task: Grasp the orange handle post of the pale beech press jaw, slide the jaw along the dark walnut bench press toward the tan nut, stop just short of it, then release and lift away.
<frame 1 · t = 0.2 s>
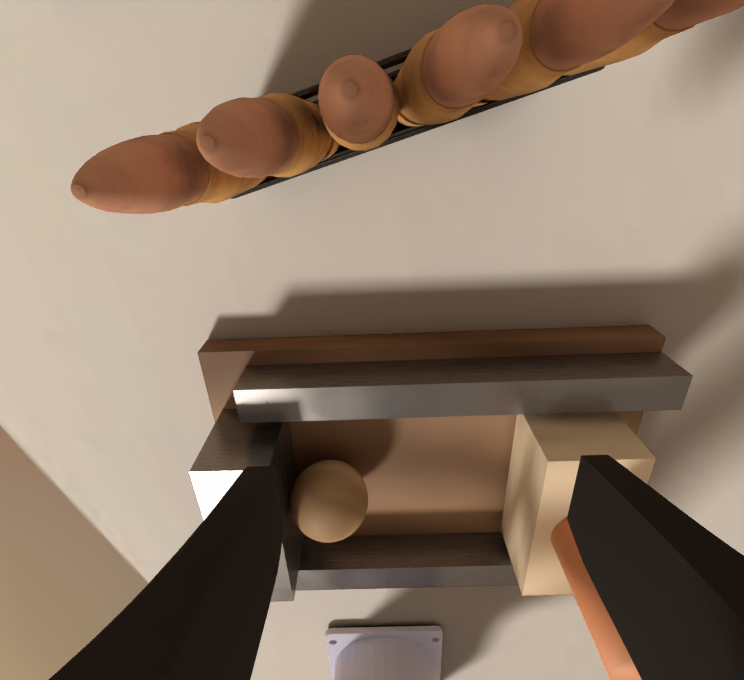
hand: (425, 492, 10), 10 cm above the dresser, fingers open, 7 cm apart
press jaw: (590, 549, 17), point 6 cm above the dresser, slide at 0.0 cm
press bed: (423, 452, 22), on the dresser
ammunition clip: (389, 108, 15), on the dresser
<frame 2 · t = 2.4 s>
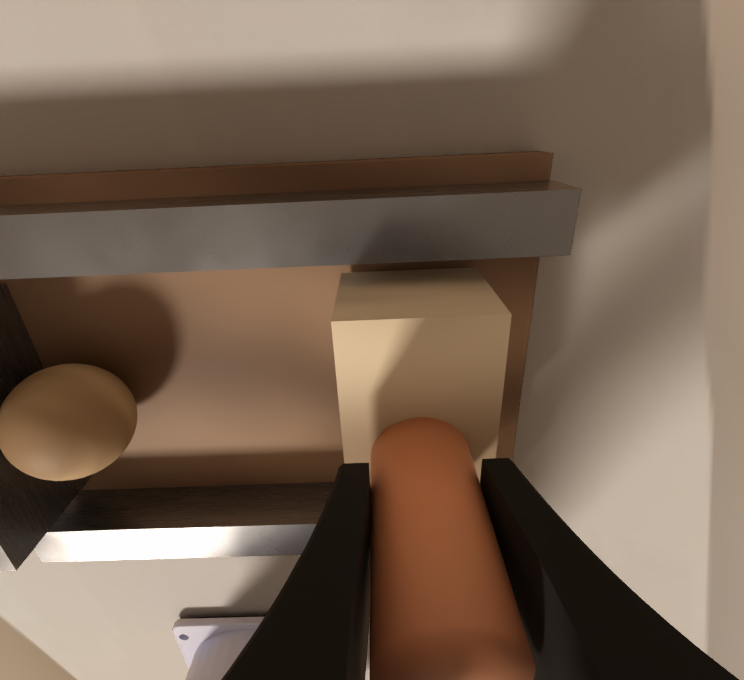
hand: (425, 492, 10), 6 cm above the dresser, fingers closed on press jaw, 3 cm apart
press jaw: (422, 476, 11), point 6 cm above the dresser, slide at 0.0 cm, touching gripper
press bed: (246, 367, 16), on the dresser
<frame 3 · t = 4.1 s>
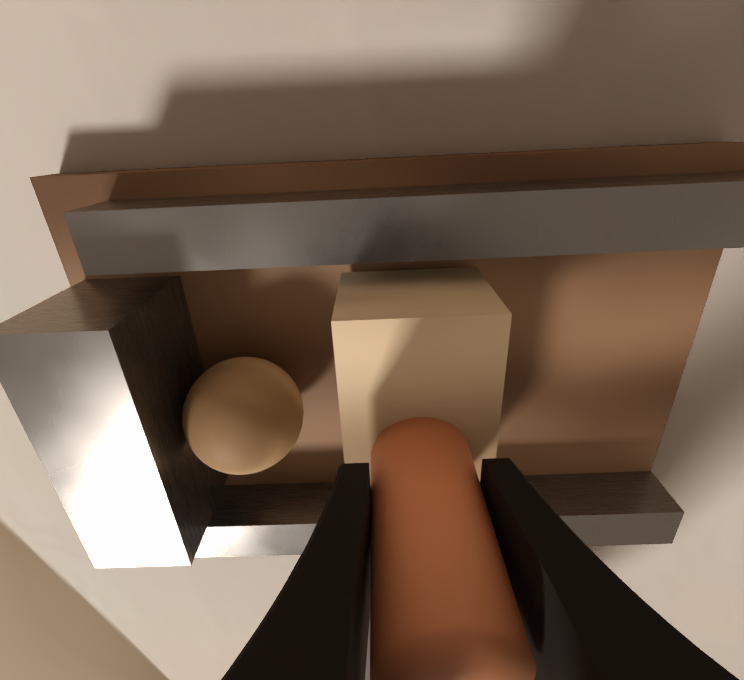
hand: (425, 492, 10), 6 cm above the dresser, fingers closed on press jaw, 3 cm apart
press jaw: (422, 476, 11), point 6 cm above the dresser, slide at 5.5 cm, touching gripper
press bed: (391, 361, 16), on the dresser
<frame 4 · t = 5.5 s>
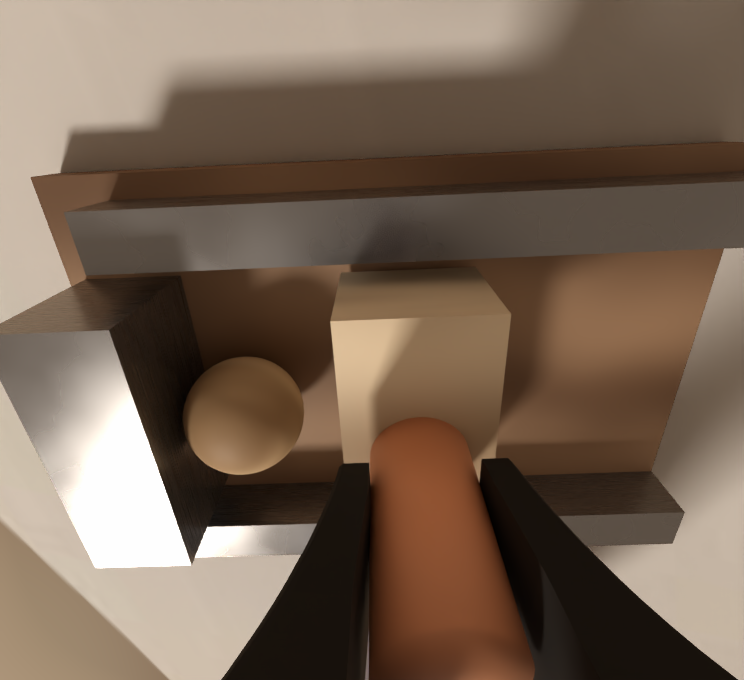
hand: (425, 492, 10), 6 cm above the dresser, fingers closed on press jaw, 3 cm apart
press jaw: (422, 476, 11), point 6 cm above the dresser, slide at 5.5 cm, touching gripper
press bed: (392, 361, 16), on the dresser
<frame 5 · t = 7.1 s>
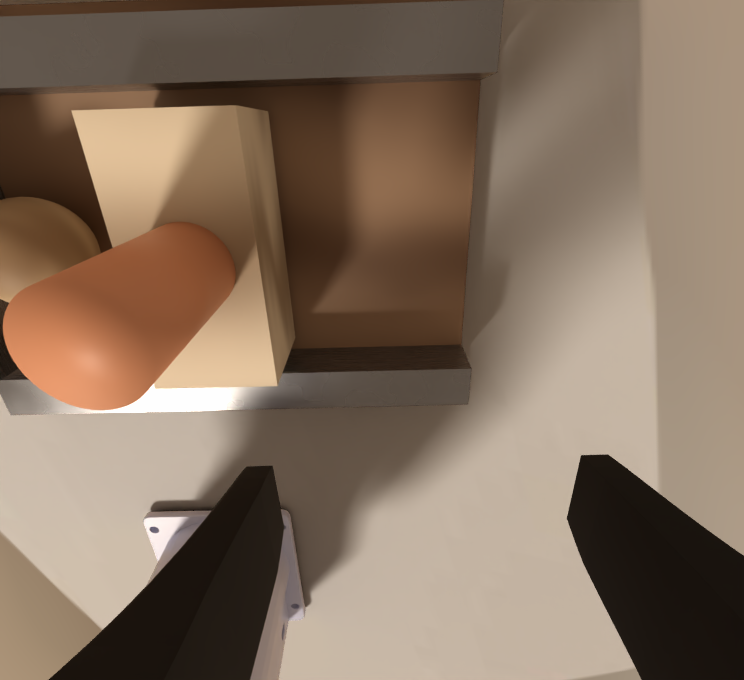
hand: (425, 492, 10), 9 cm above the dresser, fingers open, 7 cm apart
press jaw: (179, 275, 11), point 6 cm above the dresser, slide at 4.8 cm
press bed: (208, 230, 17), on the dresser
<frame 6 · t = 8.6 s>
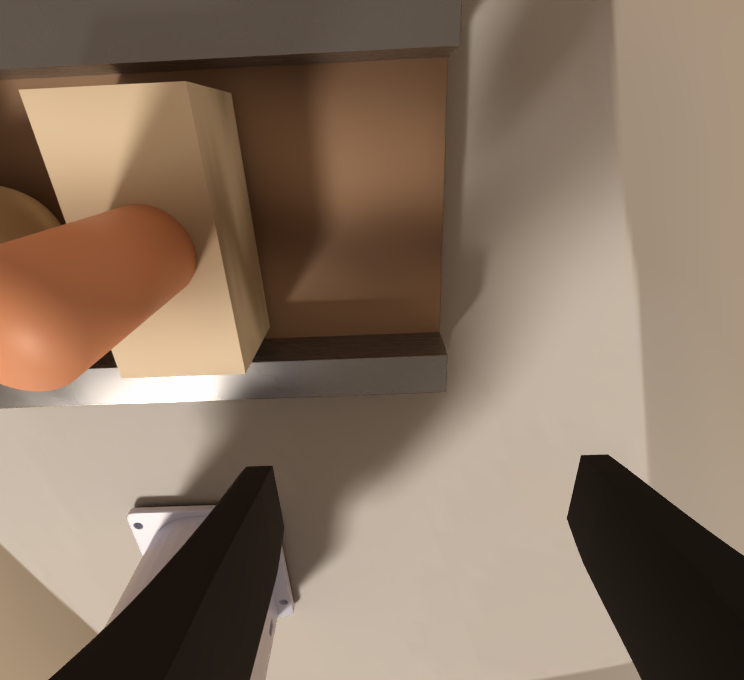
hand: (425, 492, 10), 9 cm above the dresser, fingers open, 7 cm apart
press jaw: (136, 259, 11), point 6 cm above the dresser, slide at 4.8 cm
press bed: (180, 219, 16), on the dresser
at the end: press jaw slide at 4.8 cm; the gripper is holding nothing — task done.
